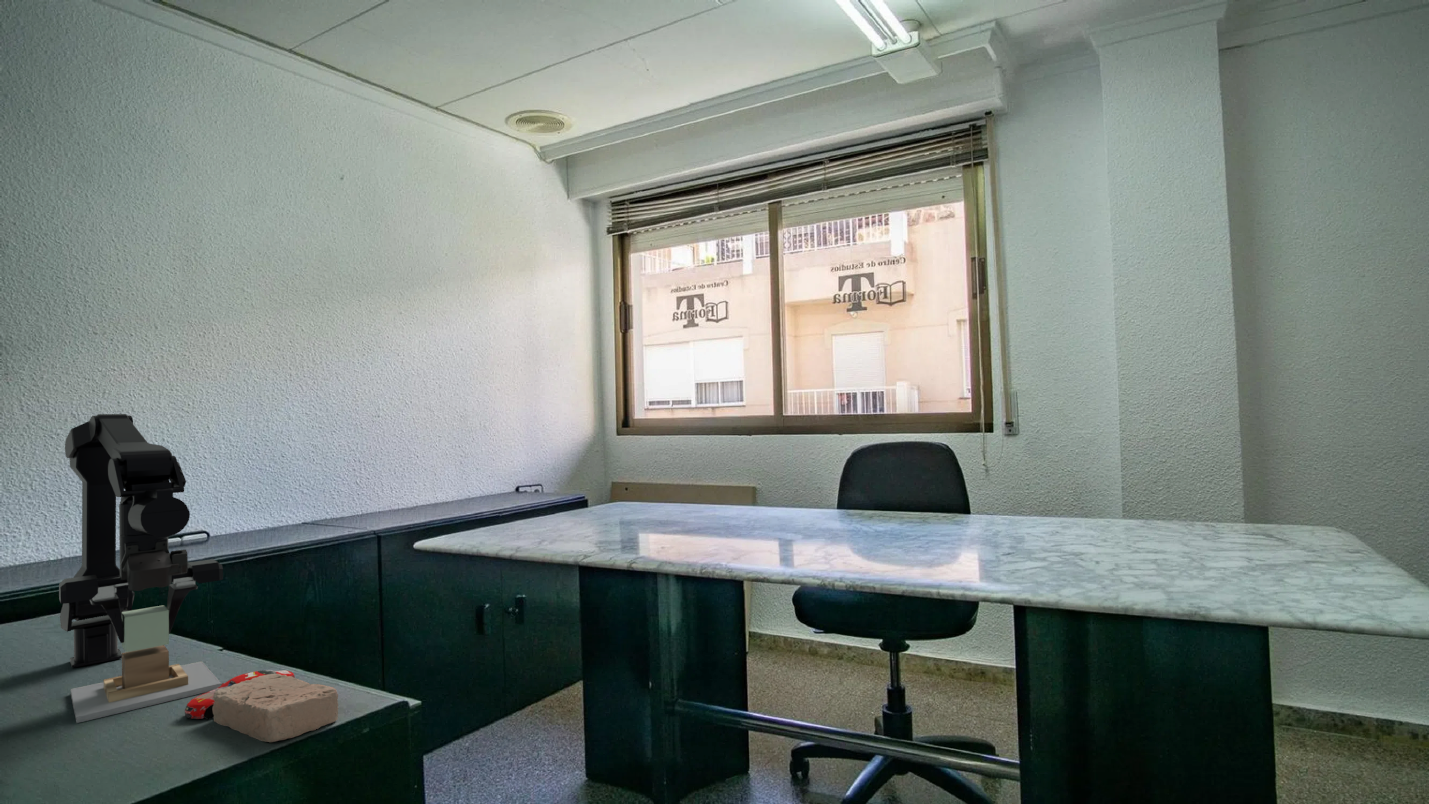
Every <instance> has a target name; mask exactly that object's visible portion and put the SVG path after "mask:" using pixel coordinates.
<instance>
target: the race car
mask: <svg viewBox="0 0 1429 804" xmlns="http://www.w3.org/2000/svg"><path fill="white" fill-rule="evenodd" d="M268 674H280V675H286V676H291V677H294V678H296V676H295V674H294V672H292V671H290V670H285V669H284V670H283V669H282V670H272V669H265V670H255V671H251V672H246V673H243V674H239V675H237V676H234V677H231V678H230V679H229V680H227V681H226V682H225V683H223V682H221V686H220V687H218V688H217V689H215V690H212V691H209V692H205V693H201V694H198V696H195V697H194V698H192V699H190V701H188V703H187V704H186V706H185V707H184V708H185V709H184V714H185V717H186V718H188V719H195V720H199V719H204V718H205V719H206V720H211V719H214V714H213V710H212V709H213V705H214V702H215V701H214V700H213V696H214V692H215V691H217V690H219V689H223V688H226V687H229V686H232V685H234V684H238V683H240V682H243V681H246V680H251V679H253V678H257V677H259V676H263V675H268Z"/></svg>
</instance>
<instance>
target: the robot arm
mask: <svg viewBox="0 0 1429 804" xmlns="http://www.w3.org/2000/svg"><path fill="white" fill-rule="evenodd" d="M64 443H65V444H64V453H65V454H64V455H65V456H66V459H69V468H71V470H72V471H73V472H74V474H75V475H76V476H77V478H79V479H80V481H81V482H82V483H81V484H82V485H81V492H82V493H81V567H79V569H78V570H77V572H76V574H75V575H74V576H73V577H69V578H64V579H62V580H61V582H58V583H59V585H58V597H59V598H58V599H59V602H60V603H59V604H62V607H61V610H60V615H59V620H60V621H59V622H60V629H61V630H64V631H65V632H72V631H73V656H72V657H70V658H69V662H70V666H71V668H79V667H84V666H89V665H92V664H93V665H95V664H99V663H105V662H110V661H114V660H119V659H122V652H121V650H120V648H119V647H118V640H119V643H120V644H122V643H124V628H123V623H122V612H126V611H132V610H133V609H132V608H133V603H134V599H135V594H136V593H135V592H139V591H143V590H145V589H150V588H151V589H152V588H156V587H157V588H165V587H168V592H167V600H166V601H167V602H166V608H167V609H168V610H169V635H170V634H171V631H172V629H173V626H174V624H175V620H176V619H177V615H178V613H179V611H180V607H181V606H182V604H183V602H184V599H185V598H186V597H187V595H189V593H190V592H191V591H194V590H198V587H199V586H198V585H197V584H196V583H198V584H206V583H211V582H218V581H222V580H224V568H223V564H222V563H220V562H218V561H217V560H215V559H213V558H211V559H206V560H205V559H204V560H197V561H191V562H189V561H188V550H187V549H180V550H179V549H177V550H171V551H170V549H169V537H171V536H175V535H177V534H179V533H180V532H182V530H184V529H185V528H186V526H187V525H188V523H189V521H190V518H191V517H190V516H191V514H190V510H189V507H188V506H187V504H186V503H185V502H184V501H183V500H181V499H180V498H177V497H174V494H176V493H177V494H179V493H184V492H185V486H186V483H187V480H186V478H185V474H184V472H183V469H182V467H181V464H180V463H179V462H178V459H177V457H176V456H175V455H173V454H172V451H171V450H169V449H168V448H166V447H165V446H164V445H160V444H155V443H149V442H148V440H146V438H145V437H144V436H143V434H142V433H141V431H139V430H138V428H137V427H136V425H134V419H133V417H132V415H127V414H126V413H98V414H96V415H92V416H91V417H90V418H89V420H88V421H86V422H84V423H81V424H79V425H77V426H74V427H72V428H71V429H70V430H69V433H68V435H67V437H66V438H65V441H64ZM117 498H120V501H119V505H118V518H119V519H118V526H119V528H118V529H119V531H118V533H119V539H118V540H119V566H117V553H116V552H117V543H116V542H117ZM73 620H75V621H73Z"/></svg>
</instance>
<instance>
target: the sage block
mask: <svg viewBox="0 0 1429 804" xmlns="http://www.w3.org/2000/svg"><path fill="white" fill-rule="evenodd" d="M122 623H123V628H124V643H121V647H122V649H123V650H124V653H125V652H131V651H136V650H141V649H146V648H152V647H157V646H162V645H164V646H167V645H169V644H170V634H169V610H168V609H167V606H166V605H159V606H158V605H157V606H150V607H145V608H139V609H132V611H126V612H122Z"/></svg>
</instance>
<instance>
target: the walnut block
mask: <svg viewBox="0 0 1429 804" xmlns="http://www.w3.org/2000/svg"><path fill="white" fill-rule="evenodd" d="M121 654H122V658H121V676H122V688H123V689H125V688H130V687H134V686H139V685H143V684H148V683H152V682H157V681H161V680H166V679H169V666H170V652H169V649H168V648H167V647H166V645H162V646H157V647H152V648H146V649H141V650H136V651H131V652H125V651H124V652H121Z"/></svg>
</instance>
